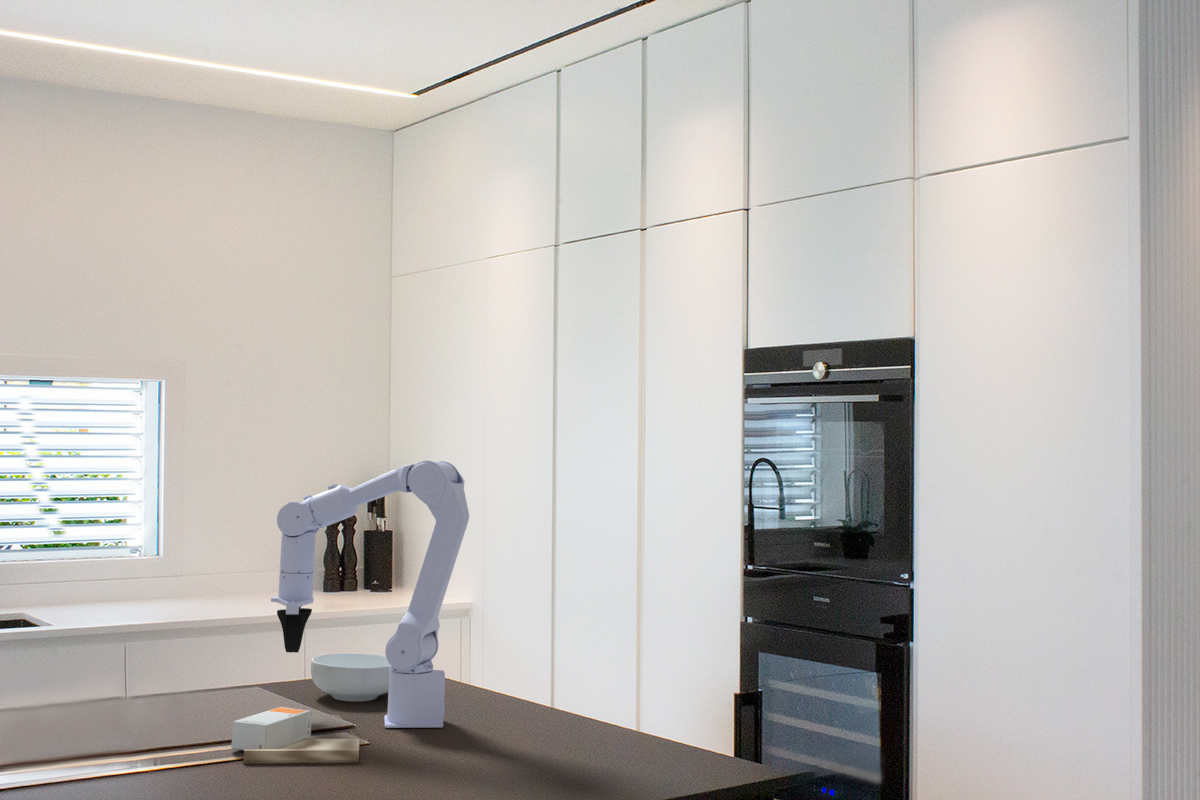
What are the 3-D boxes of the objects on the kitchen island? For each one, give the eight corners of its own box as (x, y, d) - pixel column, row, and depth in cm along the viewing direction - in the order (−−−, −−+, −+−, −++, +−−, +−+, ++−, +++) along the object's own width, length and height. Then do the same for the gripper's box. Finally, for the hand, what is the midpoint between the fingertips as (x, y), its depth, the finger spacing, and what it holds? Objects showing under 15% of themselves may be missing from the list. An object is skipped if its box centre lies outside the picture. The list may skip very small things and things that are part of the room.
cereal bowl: (391, 709, 205) (393, 668, 205) (298, 705, 205) (300, 664, 205) (408, 690, 221) (410, 653, 222) (322, 687, 222) (324, 650, 222)
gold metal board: (359, 741, 180) (359, 729, 180) (358, 762, 167) (359, 750, 167) (252, 741, 176) (253, 729, 177) (243, 763, 164) (244, 750, 164)
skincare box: (312, 709, 179) (266, 725, 168) (311, 737, 179) (265, 754, 168) (279, 705, 181) (231, 720, 170) (278, 733, 181) (230, 750, 170)
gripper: (276, 567, 205) (271, 644, 204) (269, 575, 191) (264, 658, 190) (316, 568, 206) (312, 645, 206) (313, 576, 192) (308, 659, 191)
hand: (292, 651), depth 198 cm, fingers closed
